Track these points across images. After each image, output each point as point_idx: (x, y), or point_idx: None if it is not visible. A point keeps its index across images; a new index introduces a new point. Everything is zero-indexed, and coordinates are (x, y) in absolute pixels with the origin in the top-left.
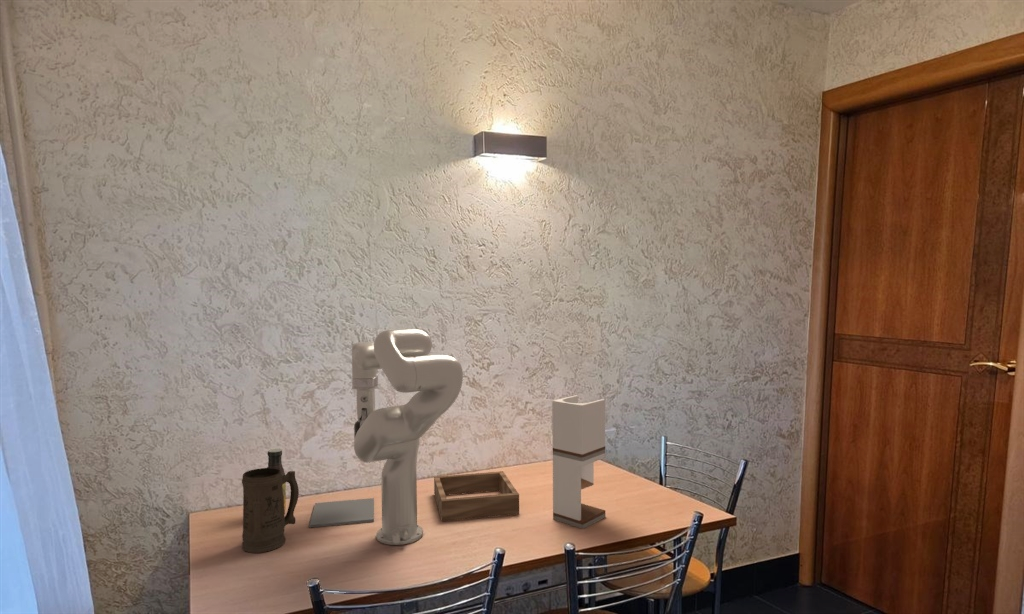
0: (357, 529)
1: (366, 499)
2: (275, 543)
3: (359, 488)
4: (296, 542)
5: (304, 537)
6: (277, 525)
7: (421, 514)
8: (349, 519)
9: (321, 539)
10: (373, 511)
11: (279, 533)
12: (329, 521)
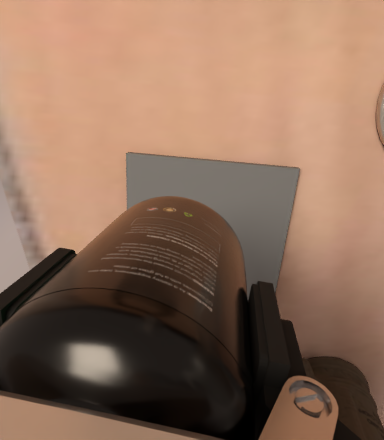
0: (332, 213)
1: (132, 175)
2: (364, 382)
3: (23, 183)
4: (343, 338)
5: (322, 323)
6: (372, 411)
7: (300, 3)
8: (272, 231)
9: (354, 294)
10: (236, 164)
11: (364, 390)
12: (266, 275)
